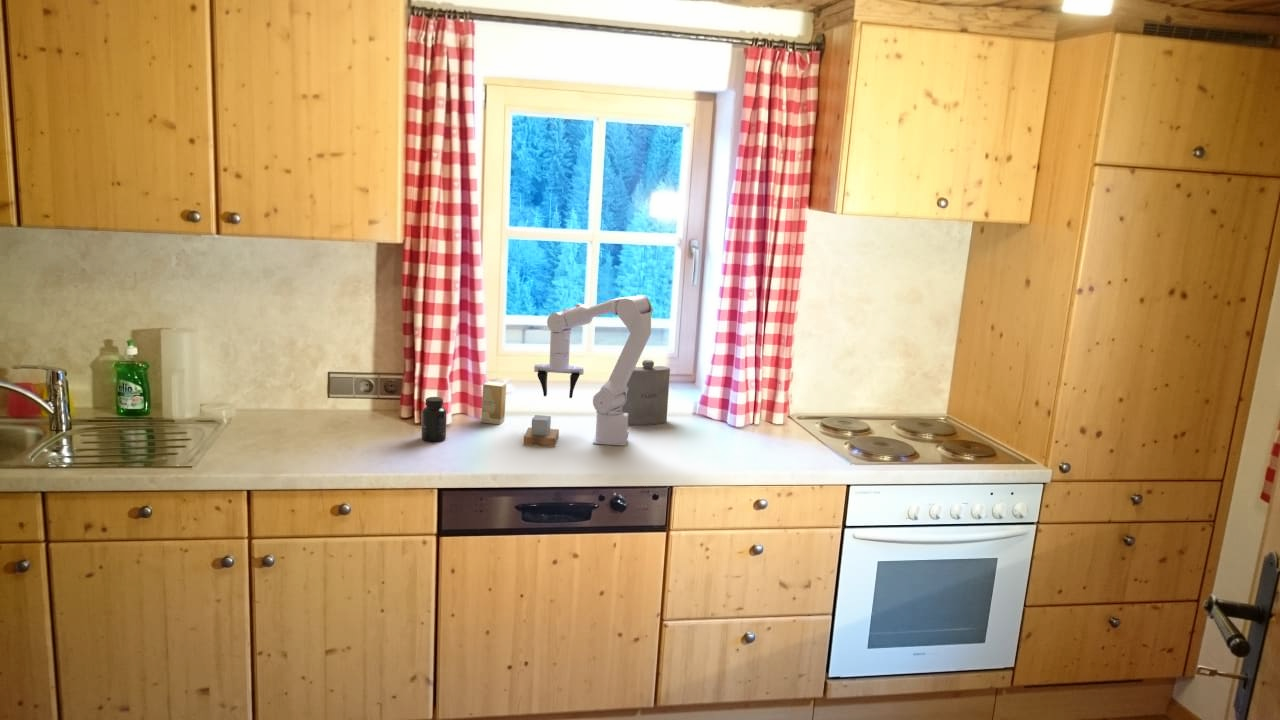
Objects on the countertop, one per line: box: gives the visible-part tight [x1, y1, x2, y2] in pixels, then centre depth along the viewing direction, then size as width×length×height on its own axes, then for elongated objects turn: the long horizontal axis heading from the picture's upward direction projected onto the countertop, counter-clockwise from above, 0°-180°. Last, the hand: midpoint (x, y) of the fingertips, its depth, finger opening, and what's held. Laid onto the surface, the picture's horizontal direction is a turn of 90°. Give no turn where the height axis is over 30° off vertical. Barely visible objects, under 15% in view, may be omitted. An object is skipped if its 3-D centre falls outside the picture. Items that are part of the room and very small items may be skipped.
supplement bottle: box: [421, 396, 447, 444], centre depth 265 cm, size 7×7×12 cm
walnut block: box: [523, 427, 560, 448], centre depth 270 cm, size 9×9×3 cm
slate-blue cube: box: [531, 414, 552, 436], centre depth 269 cm, size 4×4×4 cm
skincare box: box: [480, 380, 507, 425], centre depth 285 cm, size 6×4×12 cm
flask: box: [622, 359, 671, 426], centre depth 293 cm, size 15×6×20 cm, turn 110°
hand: (558, 396), depth 280 cm, fingers open, 7 cm apart
